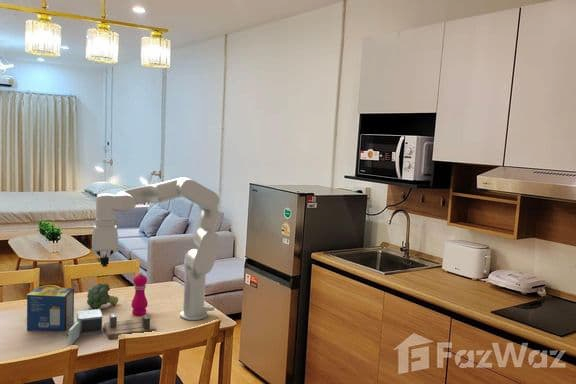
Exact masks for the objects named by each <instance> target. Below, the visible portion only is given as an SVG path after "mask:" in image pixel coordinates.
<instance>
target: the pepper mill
mask: <svg viewBox="0 0 576 384" xmlns="http://www.w3.org/2000/svg"><path fill="white" fill-rule="evenodd" d="M147 283H148V278H147V276H146V275H145V274H143V272H142V271H139V272H138V274H137V275H136V276H134V277H133V284H134V290H135V291H134V296H133V298H132V300H131V305H130V307H131V308H132V313H131V314H132V315H133V316H136V317H141V316H144V315H147V308H148V303H149V302H148V299H147V297H146V294H145V290H146V289H147V288H146V284H147Z"/></svg>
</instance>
